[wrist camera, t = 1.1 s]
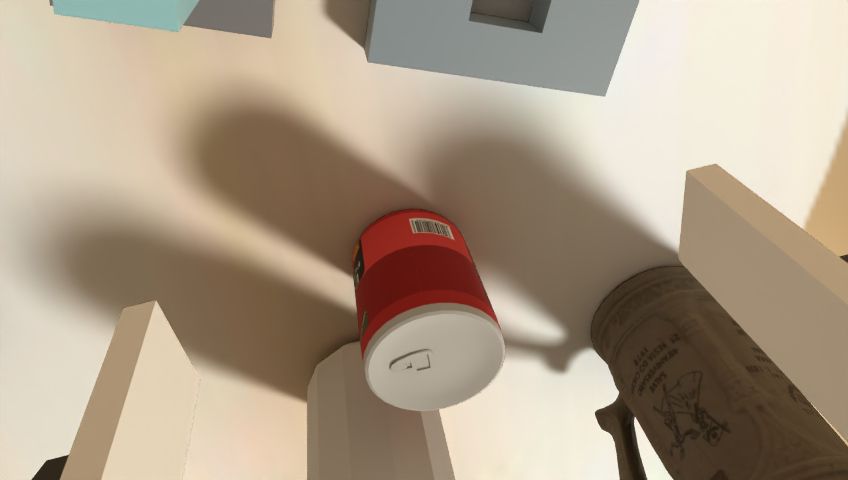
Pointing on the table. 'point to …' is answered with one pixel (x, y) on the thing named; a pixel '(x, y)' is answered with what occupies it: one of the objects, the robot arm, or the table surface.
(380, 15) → the port panel
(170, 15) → the plug
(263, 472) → the table surface
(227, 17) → the hollow square frame
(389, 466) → the jar
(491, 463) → the table surface
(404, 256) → the canned food
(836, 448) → the beer stein
